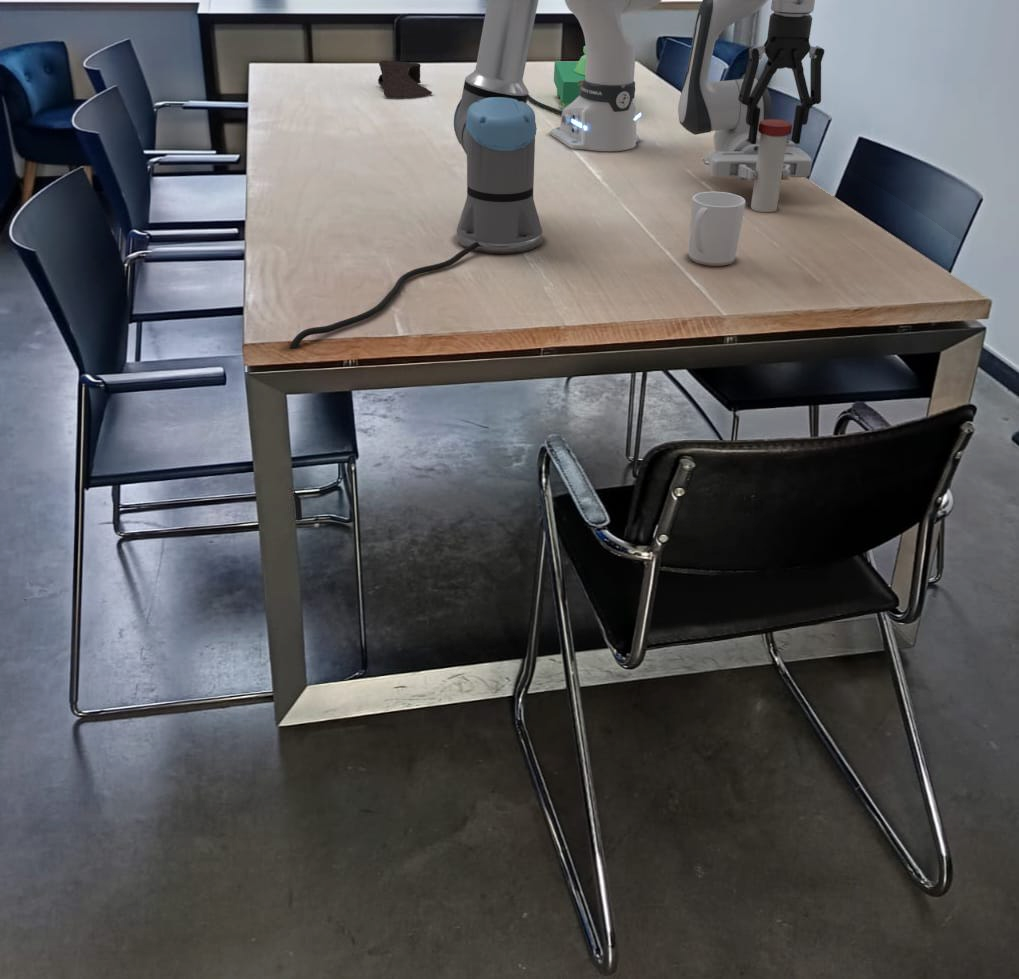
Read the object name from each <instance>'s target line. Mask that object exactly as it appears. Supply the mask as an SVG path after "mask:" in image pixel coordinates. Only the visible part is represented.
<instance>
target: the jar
mask: <svg viewBox="0 0 1019 979" xmlns="http://www.w3.org/2000/svg"><path fill="white" fill-rule="evenodd" d="M788 136H789V135H786V136H771V135H765V134H762V133H761V136H760V143H759V150H758V158H757V165H756V170H757V171H758V175H757V180H753V189H752V195H751V203H750V209H751V210H752V211H756V212H759V213H773V212H776V211H777V210H778V203H779V198H780V190H781V184H782V180H781V177H782V171H783V164H784V157H785V151H786V144H787V141H788Z"/></svg>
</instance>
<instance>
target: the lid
mask: <svg viewBox="0 0 1019 979" xmlns="http://www.w3.org/2000/svg"><path fill="white" fill-rule="evenodd" d="M758 130H759V132H760V133H762V134H765V135H771V136H786V135H788V136H789V135H792V131H793V123H792V122H790V121H788V120H784V119H777V118H776V119H775V118H774V119H772V118H771V119H767V120H762V121H760V124H759V128H758Z"/></svg>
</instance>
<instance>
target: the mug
mask: <svg viewBox="0 0 1019 979" xmlns="http://www.w3.org/2000/svg"><path fill="white" fill-rule="evenodd" d="M746 201H747V200H746V199H745V198H744V197H743V196H740V195H738V194H735V193H731V192H726V191H725V192H724V191H701V192H697V193H695V194H694V195H692V197H691V207H690V221H689V222H690V223H689V238H688V239H689V241H688V253H687V254H688V258H689V259H690V260H691V262H694V263H696V264H698V265H704V266H710V267H721V266H723V267H724V266H727V265H731V264H733V263H734V262H735V260H736V257H737V251H738V245H739V240H740V235H741V229H742V223H743V218H744V212H745V208H746Z"/></svg>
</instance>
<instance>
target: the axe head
mask: <svg viewBox="0 0 1019 979" xmlns="http://www.w3.org/2000/svg"><path fill="white" fill-rule="evenodd" d="M378 66H379V68H380V72H381V74H379V75H378V79H377V84H378V85H379V86H380V87H381V88H382V89H383V95H384V96H385V97H388V98H394V99H395V98H396V99H403V98H405V99H406V98H407V99H411V98H418V97H425V96H429V95H432V94H433V91H431V90H430V89H428V88H427V87H425V86H422V85H421V84H422V82H421V63H419V62H410V61H408V62H407V61H397V60H388V59H387V60H380V61H379V62H378Z"/></svg>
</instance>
